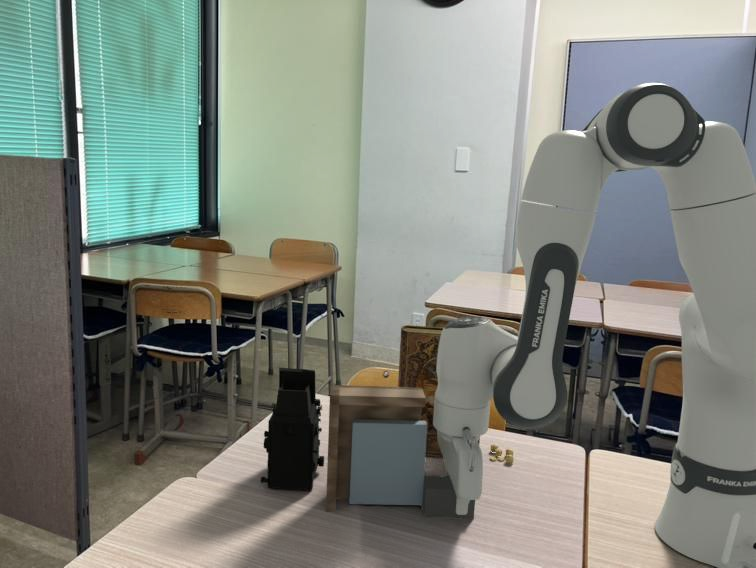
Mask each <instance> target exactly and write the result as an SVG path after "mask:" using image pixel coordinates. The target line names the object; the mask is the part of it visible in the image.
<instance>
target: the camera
mask: <svg viewBox="0 0 756 568" xmlns="http://www.w3.org/2000/svg"><path fill="white" fill-rule="evenodd" d="M278 377H279V378H278V379H279V380H278V390H277V395H276V402H274V401H273V402H272V404H271V407H272V411H271V412H272V414H271V416H270V417H269V419H268V430H264V433H263V436H264V439H263V449H265V450H266V451H265V452H266V453H267V464H266V465H267V477H265V476H261V477H260V483H261V484H264V483H266V484H267V487H268V488H269V489H277V490H278V489H280V490H295V491H297V490H300V491H311V492H312V491H313V488H314V481H315V477H316V474H317V470H318V467H322V468H323V467H324V466H325V456H324V455H320V446H321V440H320V439H319V437H320V434H321V432H322V431H323V428H321V427H320V426H319V425H320V423H321V421H322V419H321V416H322V413H321V411H322V410H323V405H322V404H321V399H320V398H316V394H317V393H316V371H315V369H307V368H306V369H305V368H290V367H278Z"/></svg>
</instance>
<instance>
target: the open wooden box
mask: <svg viewBox="0 0 756 568" xmlns="http://www.w3.org/2000/svg"><path fill="white" fill-rule="evenodd" d="M329 390H330V391H329V408H328V410H329V411H328V436H327V437H328V438H327V439H328V442H327V443H328V444H327V445H328V446H327V467H326V468H327V472H326V498H325V499H326V500H325V511H326V512H336V504H337V503H336V500H350V475H351V450H352V426H353V419H372V420H411V421H421V409H422V407H425V400H426V398H425V395H424V392H423V389H422V388H417V387H398V386H381V385H380V386H379V385H378V386H377V385H375V386H373V385H347V384H346V385H344V384H343V385H341V384H330V389H329Z"/></svg>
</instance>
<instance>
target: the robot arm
mask: <svg viewBox="0 0 756 568" xmlns="http://www.w3.org/2000/svg"><path fill="white" fill-rule="evenodd" d="M647 168H652V170H654V171H655V172H657V174H658V175H659V176H660V179H661V180H662V181H663V184H664V187H665V188H666V192H667V193H666V195H667V201H668V207H669V212H670V217H671V223H672V227H673V233H674V238H675V245H676V250H677V255H678V259H679V263H680V264H681V267H682V268H683V270H684V272H685V275H686V276H687V280H688V282H689V285H690V288H691V290H692V293H691V294H690V295H688V296H687V297H686V298H685V299H684V300H683V302H682V303H681V305H680V308H679V312H678V321H679V322H678V323H679V325H680V326H679V327H680V332H681V368H682V370H681V372H682V373H681V374H682V405H681V406H682V407H681V412H680V420H679V421H680V422H679V428H678V435H677V436H678V437H677V442H676V443H675V444H674V446H673V449H672V450H673V451H672V456H671V463H670V464H671V465H670V483H669V486H668V491H667V494H666V497H665V499H664V500H665V501H664V502H663V506H662V508H661V510H660V513H659V515H658V517H657V519H656V520H655V522H654V530H655V532H656V535H658V537H659V538H660V540H661V541H663V542H664V543H665V544H666V545H668V546H669V547H670V548H672V549H673V550H675V551H677V552H678V553H680V554H682V555H684V556H686V557H688V558H690V559H692V560H695V561H697V562H700V563H704V564H706V565H710V566H713V567H716V568H756V181H755V176H754V172H753V169H752V165H751V161H750V159H749V156H748V154H747V151H746V148H745V144H744V143H743V141H742V138H741V136H740V134H739V132H738V130H737V129H736V128H735V127H734V126H731V124H729V123H724V122H720V121H705V120H704V118H703V117H702V116H701V115H700V114H699V113H698V111H696V109H694V108H693V106H692V104H691V103H690V101H689V100H688V99H687V97H686V96H685V95H684V94H683V93H682V92H680V91H679V90H678V89H676V88H675V87H672V86H671V85H668V84H665V83H660V82H659V83H658V82H647V83H642V84H639V85H636V86H633V87H631V88H629V89H627V90H625V91H623V92H621V93H620V94H618V95H616V96H615V97H613V98H612V99H610V100H609V101H608V102H607V103H606V104H605V105H604V107H603V108H601V110H600V111H598V112H597V113H596V115H594V116H593V118H592V119H591V120H590V121H589V122H588V124H587V125H586V126H585V127H584V129H583V130H582V131H579V130H575V129H574V130H573V129H571V130H570V129H567V130H565V129H564V130H560V131H555V132H553V133H550V134H549V135H547V136H546V137H545V138H543V139H542V140H541V142H540V143H539V145H538V147H537V150H536V152H535V154H534V156H533V160H532V161H531V165H530V167H529V170H528V173H527V176H526V178H525V179H526V180H525V183H524V187H523V191H522V194H521V201H520V203H519V209H518V215H517V224H516V225H517V226H516V247H517V252H518V254H519V257H520V260H521V263H522V269H523V272H524V280H525V295H524V302H523V310H522V314H521V319H520V324H519V329H518V333H517V334H518V335H514V334H513V333H510V332H508V331H506V330H505V329H503V328H501V327H500V326H498V325H497V324H496V323H494V322H493V320H492V319H490V318H489V317H486V316H483V315H482V316H479V315H468V316H462V317H460V316H459V317H457V318H454V319H452V320H450V321H448V323H446V324H445V326H444V327H442V328H443V330H442V333H441V336H440V341H439V347H438V355H437V367H436V372H437V377H438V386H437V389H436V392H435V398H434V415H433V426H434V427H435V428H436V429H437V438H438V444H439V447H440V450H441V453H442V456H443V459H442V460H443V461H444V476H450V479H451V482H452V485H453V488H454V490H455V493H456V496H457V497H456V499H455V511H456V513H457V514H458V515H466V514H467V512H468V504H469V502H470V500H475V501H477V500H480V498H481V497H482V494H483V493H482V491H483V476H484V475H483V470H484V468H483V467H484V466H483V465H484V463H483V461H484V460H483V459H484V458H483V451H482V449H481V446H480V443H479V444H478V442H477V441H478V440H479V438H480V439H481V436H483V435H485V434H487V432H488V431H489V423H490V414H491V413H490V412H491V411H490V409H491V400H492V399H493V403H494V407H495V409H496V411H497V412H498V414H499V416H500V417H501V418H502V419H504V421H505V422H506V423H508V424H510V425H512V426H514V427H515V428H516V427H517V428H520V429H524V430H535V429H541V428H544V427H546V426H549V425H551V424H552V423H554V422H556V420H558V418H559V417H560V416H561V415H562V414H563V412H564V410H565V408H566V406H567V404H568V403H567V402H568V387H567V383H566V382H567V381H566V378H565V374H564V371H563V370H564V369H563V356H564V349H565V343H566V339H567V333H568V328H569V323H570V316H571V310H572V306H573V301H574V295H575V289H576V285H577V281H578V278H579V275H580V271H581V269H582V268H581V267H582V264H583V260H584V257H585V254H586V251H587V250H588V246H589V243H590V239H591V235H592V233H593V229H594V227H595V222H596V217H597V214H596V213H598V208H599V203H600V198H601V192H603V189H604V187H605V185H606V182H607V181H608V179H609V178H610V177H611V176H612V175H613V174H614V173H616V172H627V171H638V170H639V171H641V170H643V169H647Z"/></svg>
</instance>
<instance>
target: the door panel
mask: <svg viewBox="0 0 756 568" xmlns="http://www.w3.org/2000/svg"><path fill="white" fill-rule="evenodd" d="M426 438H427V422H426V421H411V420H372V419H353V426H352V450H351V475H350V499H349V505H386V506H387V505H390V506H391V505H392V506H422V502H423V486H424V476H425V468H426V467H425V466H426V458H425V454H426Z"/></svg>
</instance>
